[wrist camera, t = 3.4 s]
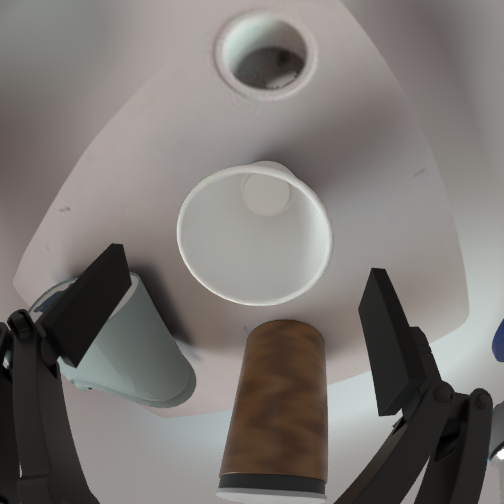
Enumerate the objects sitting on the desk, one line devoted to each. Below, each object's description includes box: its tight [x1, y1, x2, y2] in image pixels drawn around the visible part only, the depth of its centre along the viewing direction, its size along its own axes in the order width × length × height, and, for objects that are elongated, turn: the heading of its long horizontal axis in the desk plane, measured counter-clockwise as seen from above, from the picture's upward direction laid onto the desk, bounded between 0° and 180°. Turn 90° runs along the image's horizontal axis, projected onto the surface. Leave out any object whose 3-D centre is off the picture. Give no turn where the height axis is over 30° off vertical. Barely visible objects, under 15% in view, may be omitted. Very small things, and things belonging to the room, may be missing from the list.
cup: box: [177, 161, 333, 306], centre depth 22 cm, size 10×10×11 cm
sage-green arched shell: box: [28, 272, 196, 408], centre depth 34 cm, size 22×19×13 cm
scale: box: [215, 473, 327, 504], centre depth 19 cm, size 11×11×2 cm
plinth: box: [219, 320, 328, 485], centre depth 29 cm, size 11×11×20 cm
